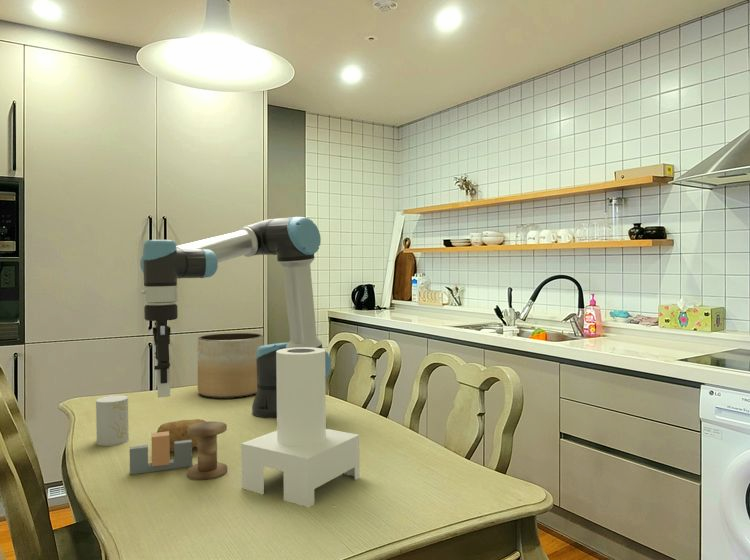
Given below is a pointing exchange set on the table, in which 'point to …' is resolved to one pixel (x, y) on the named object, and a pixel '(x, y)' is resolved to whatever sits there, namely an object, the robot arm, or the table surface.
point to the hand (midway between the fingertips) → (162, 390)
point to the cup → (112, 420)
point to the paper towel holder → (300, 432)
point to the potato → (179, 431)
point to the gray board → (142, 466)
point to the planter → (228, 364)
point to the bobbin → (207, 450)
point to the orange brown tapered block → (160, 448)
